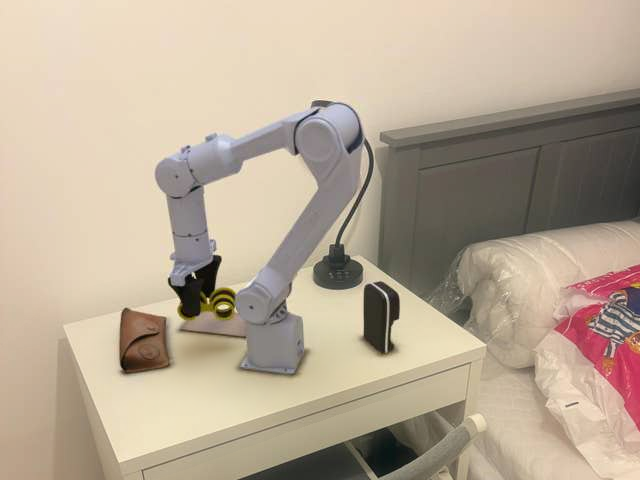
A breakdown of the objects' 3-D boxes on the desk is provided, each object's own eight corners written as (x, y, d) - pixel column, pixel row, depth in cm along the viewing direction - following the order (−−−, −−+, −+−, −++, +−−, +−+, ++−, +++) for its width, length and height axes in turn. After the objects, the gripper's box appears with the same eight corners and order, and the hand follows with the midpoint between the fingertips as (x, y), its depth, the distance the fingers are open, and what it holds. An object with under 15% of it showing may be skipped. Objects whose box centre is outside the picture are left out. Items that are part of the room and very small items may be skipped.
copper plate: (259, 317, 126) (259, 315, 126) (245, 337, 119) (245, 336, 119) (197, 310, 128) (197, 309, 128) (180, 330, 122) (180, 329, 122)
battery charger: (400, 350, 115) (403, 291, 108) (382, 356, 113) (384, 297, 107) (379, 332, 120) (381, 275, 113) (361, 338, 118) (362, 280, 112)
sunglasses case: (172, 364, 112) (146, 338, 108) (140, 387, 112) (113, 362, 109) (166, 315, 126) (143, 290, 122) (138, 335, 127) (114, 312, 123)
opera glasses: (178, 325, 111) (174, 300, 108) (183, 309, 115) (180, 284, 112) (235, 325, 111) (232, 299, 108) (238, 309, 115) (236, 284, 112)
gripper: (185, 212, 111) (195, 285, 119) (146, 246, 99) (161, 323, 107) (224, 215, 109) (232, 288, 117) (189, 249, 98) (201, 328, 106)
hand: (201, 305), depth 112 cm, fingers closed on opera glasses, 6 cm apart
